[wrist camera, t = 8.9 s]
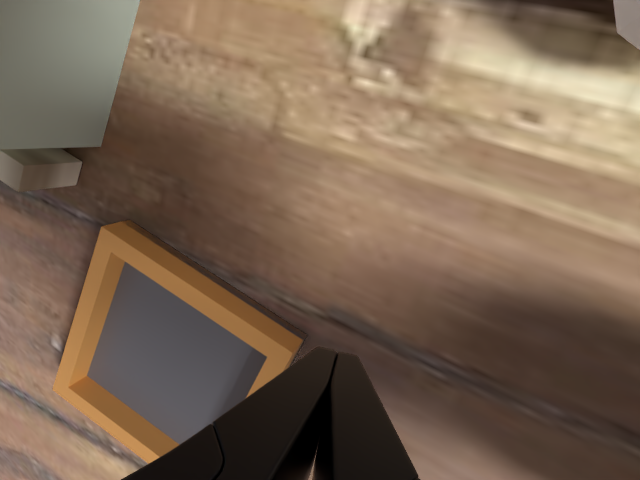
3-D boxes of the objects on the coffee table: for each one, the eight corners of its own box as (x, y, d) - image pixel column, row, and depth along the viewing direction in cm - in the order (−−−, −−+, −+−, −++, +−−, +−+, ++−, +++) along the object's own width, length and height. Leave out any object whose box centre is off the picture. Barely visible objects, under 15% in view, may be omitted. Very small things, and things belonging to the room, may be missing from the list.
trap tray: (307, 335, 22) (292, 353, 20) (225, 482, 26) (207, 508, 25) (129, 219, 24) (101, 226, 22) (79, 373, 28) (52, 389, 27)
